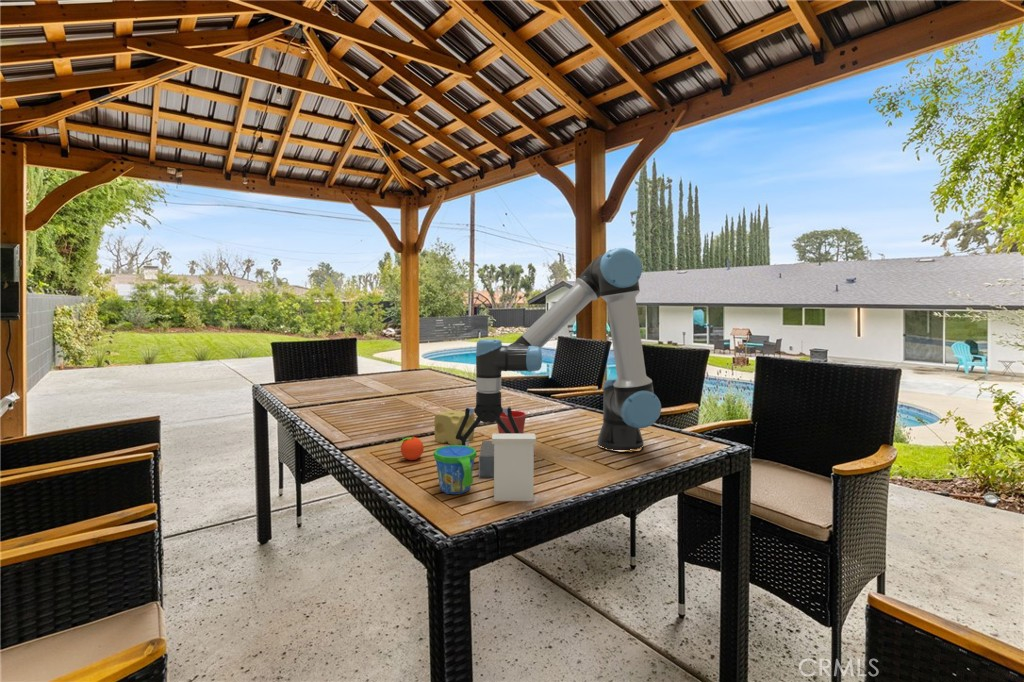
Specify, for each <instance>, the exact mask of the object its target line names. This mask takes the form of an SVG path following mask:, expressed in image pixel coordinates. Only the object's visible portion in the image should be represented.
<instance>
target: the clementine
mask: <svg viewBox="0 0 1024 682" xmlns="http://www.w3.org/2000/svg"><path fill="white" fill-rule="evenodd" d="M401 442H402V443H401ZM400 443H401V445H400V454H401V455H402V457H403V458H404V459H406V460H407V461H414V460H415V461H416V460H417V459H419V458H420V457H421V456H422V455H423V452H424V451H425V450H424V449H425V448H424V444H423V441H422V440H421V439H420V438H418V437H415V436H410V437H404V438H403V439H402V440H400V441H399V442H398V444H400Z"/></svg>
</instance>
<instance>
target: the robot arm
mask: <svg viewBox="0 0 1024 682" xmlns="http://www.w3.org/2000/svg"><path fill="white" fill-rule="evenodd" d="M642 273H643V264H642V261H641V259H640V256H638V254H637V253H636V252H634V251H633V250H631V249H628V248H625V247H619V248H613V249H609V250H607V251H606V252H604V253H602V254H600V255H597V257H595V258H594V259H593V261H591V262H590V264H589V265H588V266H587V267H586V268H585V269H584V271H582V272H581V274H580V275H579V276H577V278H576V279H575V284H574V285H572V287H570V288H569V289H568V291H566V292H565V293H564V294H563V295H562V296H560V298H559V299H558V300H556V302H555V303H553V304H552V306H550V307H549V309H548V310H546V311H545V312H544V313H543V314H542V315H541V316H540V317H539V318H538V319H537V320H536V321H535V322H534V323H533V324H531V326H529V328H528V329H526V330H525V331H524V332H523V333H522V334H521V335H520V336H519V337H518V338H517V339H516V340H515V341H514V342H511V343H510V344H509V345H508V346H507V345H503V343H502V340H501V339H495V338H492V339H491V338H490V339H489V338H486V339H485V338H483V339H479V340H478V341H477V342H476V351H475V361H476V362H475V368H476V369H475V370H476V372H475V390H476V393H475V407H470V406H467V407H466V408H465V411H464V412H465V417H464V419H463V421H462V424H461V426H460V428H459V430H458V432H457V435H456V439H459V440H461V441H462V444H461V445H463V446H469V443H470V441H469V440H466V439H467V438H468V437H469V435H470V434H471V433H472V432H473V430H474V431H475V429H476V428H477V427H478V425H479V424H480V423H481V422H482V423H484V424H486V423H495V422H496V424H497V423H498V424H499V425H500V427H501V428H502V429H503V431H504V432H505V433H506V434H512V432H511V431H510V430H509V429H508V427H507V426H506V425H505V423H504V422H503V421H502V419H501V418H500V415H501V414H502V412H504V413H505V415H508V418H509V421H510V423H511V425H512V427H513V430H514V432H515V434H520V432H519V430H518V427H517V425H516V423H515V421H514V418H513V416H512V411H513V410H512V407H511V406H508V407H502V392H501V390H502V372H529V373H530V372H537V371H540V370H541V369H542V364H543V354H542V348H543V347H544V346H545V345H547V344H548V342H549V341H550V340H552V338H553V337H555V336H556V334H558V333H559V332H560V331H561V330H562V329H564V327H565V326H566V325H567V324H568V323H570V321H572V320H573V319H574V318H575V317H576V315H578V314H579V313H580V312H581V311H582V310H583V309H584V308H585V307H586V306H587V305H588V304H590V303H591V302H592V301H597V300H598V299H599V298H601V299H602V300H604V301H605V302H606V307H607V314H608V321H609V322H608V323H609V328H610V329H609V330H610V334H611V335H610V336H611V341H612V343H611V344H612V348H613V349H612V350H613V357H614V364H615V371H616V377H617V378H615V379H613V378H612V379H606V380H605V381H604V382H603V388H602V391H603V398H602V399H603V404H602V405H603V407H602V411H603V415H602V416H603V418H602V421H603V422H602V425H601V428H600V431H599V434H598V436H597V446H598V445H600V446H602V447H604V448H607V449H613V450H630V449H637V448H640V447H642V446H643V447H644V439H643V436H642V433H641V430H640V429H645V428H649V427H651V426H653V425H654V424H655V423H656V421H657V420H659V418H660V415H661V412H662V403H661V401H660V398H659V397H658V396H657V395H656V394H655V391H654V384H653V380H652V378H650V377H649V376H647V373H646V371H647V370H646V365H645V358H644V356H645V355H644V351H643V345H642V334H641V330H640V329H641V328H640V323H639V322H640V321H639V315H638V314H639V313H638V307H637V302H636V301H637V300H636V297H637V296H638V294H639V293H640V291H641V290H640V283H639V280H640V278H641V277H642V275H643V274H642ZM473 412H474V415H476V418H475V421H474V423H473V424H472V425H471V426H470V428H469V429H468V430H467V432H466V433H465V434H464V435H461V434H462V431H463V429H464V427H465V425H466V422H467V420H468V418H469V415H472V413H473ZM469 447H470V446H469Z"/></svg>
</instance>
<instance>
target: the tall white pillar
mask: <svg viewBox="0 0 1024 682" xmlns="http://www.w3.org/2000/svg"><path fill="white" fill-rule="evenodd" d="M491 441H492V444H494V478H493V501H494V502H534V473H535V472H534V467H535V466H534V464H535V463H534V458H535V456H534V453H535V450H534V449H535V448H534V446H535V445H536V444H537V437H536V433H523V434H499V433H492V435H491Z"/></svg>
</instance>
